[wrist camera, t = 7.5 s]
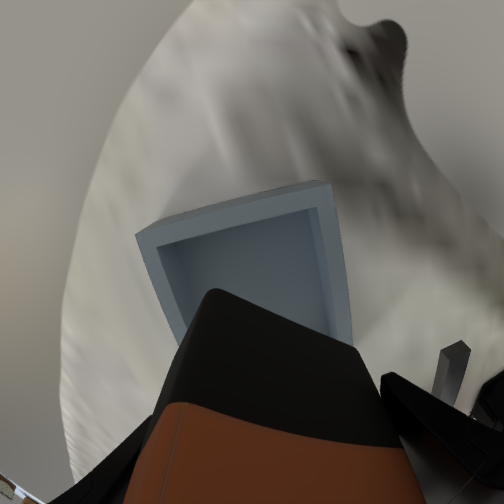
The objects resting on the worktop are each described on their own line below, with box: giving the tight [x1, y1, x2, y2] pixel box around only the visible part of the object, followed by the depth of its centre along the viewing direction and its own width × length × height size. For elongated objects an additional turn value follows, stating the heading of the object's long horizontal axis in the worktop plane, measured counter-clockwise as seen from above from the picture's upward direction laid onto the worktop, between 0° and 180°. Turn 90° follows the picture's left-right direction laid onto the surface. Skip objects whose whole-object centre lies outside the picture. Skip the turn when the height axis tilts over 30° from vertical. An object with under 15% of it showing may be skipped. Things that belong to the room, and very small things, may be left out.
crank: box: [431, 340, 471, 407], centre depth 13 cm, size 17×4×6 cm, turn 14°
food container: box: [0, 474, 16, 501], centre depth 42 cm, size 12×6×10 cm, turn 61°
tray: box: [135, 180, 353, 346], centre depth 14 cm, size 9×12×3 cm
